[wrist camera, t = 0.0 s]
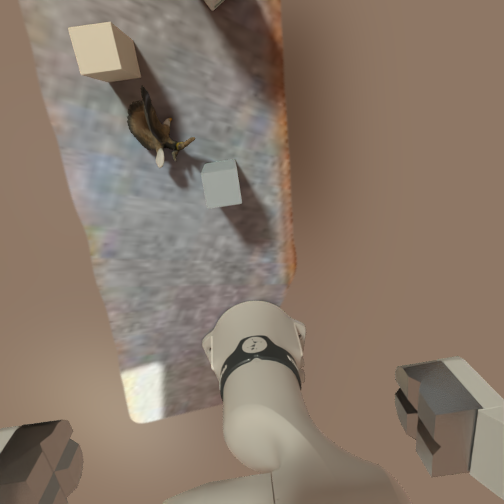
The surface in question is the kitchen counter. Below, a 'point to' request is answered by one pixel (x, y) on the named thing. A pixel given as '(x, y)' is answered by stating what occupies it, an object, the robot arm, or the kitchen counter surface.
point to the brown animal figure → (152, 129)
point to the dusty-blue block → (221, 184)
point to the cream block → (104, 52)
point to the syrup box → (213, 3)
